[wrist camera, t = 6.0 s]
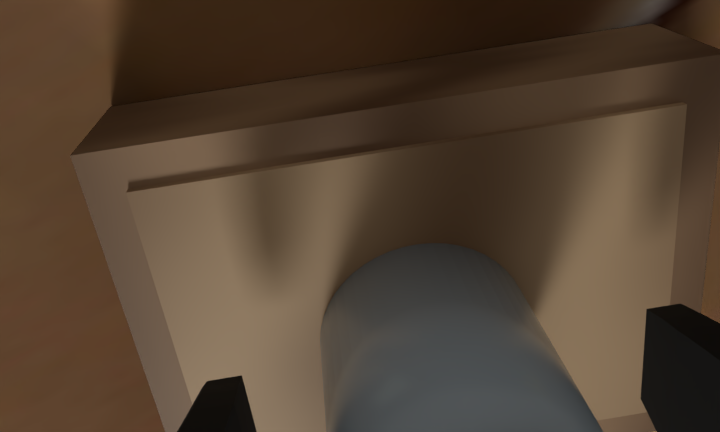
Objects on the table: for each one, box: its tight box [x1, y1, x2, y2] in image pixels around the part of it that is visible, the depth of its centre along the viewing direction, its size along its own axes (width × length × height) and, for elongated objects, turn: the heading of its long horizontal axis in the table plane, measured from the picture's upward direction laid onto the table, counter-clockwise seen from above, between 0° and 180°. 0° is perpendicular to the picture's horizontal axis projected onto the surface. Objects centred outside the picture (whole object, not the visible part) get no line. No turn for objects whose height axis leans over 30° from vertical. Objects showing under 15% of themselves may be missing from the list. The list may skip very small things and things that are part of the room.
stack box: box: [70, 23, 720, 432], centre depth 15 cm, size 12×9×3 cm
